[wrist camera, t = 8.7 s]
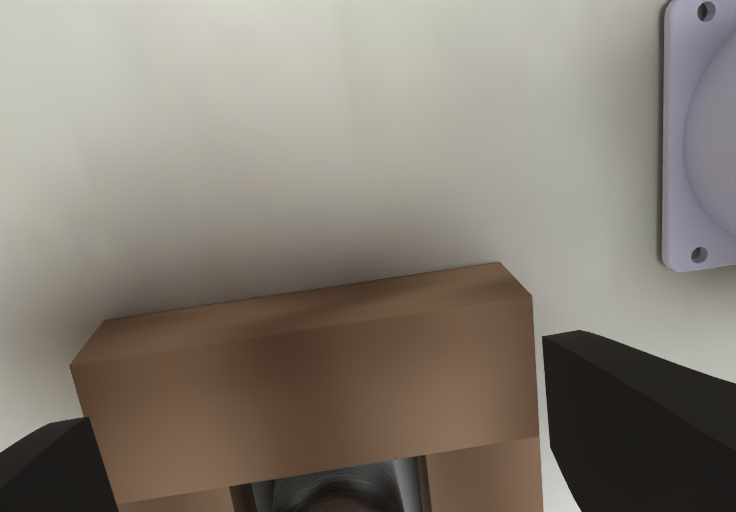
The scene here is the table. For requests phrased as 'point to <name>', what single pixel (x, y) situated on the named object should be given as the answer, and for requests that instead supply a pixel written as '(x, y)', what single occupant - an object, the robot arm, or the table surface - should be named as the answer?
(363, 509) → the peg
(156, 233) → the table surface
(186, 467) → the dock plate
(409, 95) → the table surface
